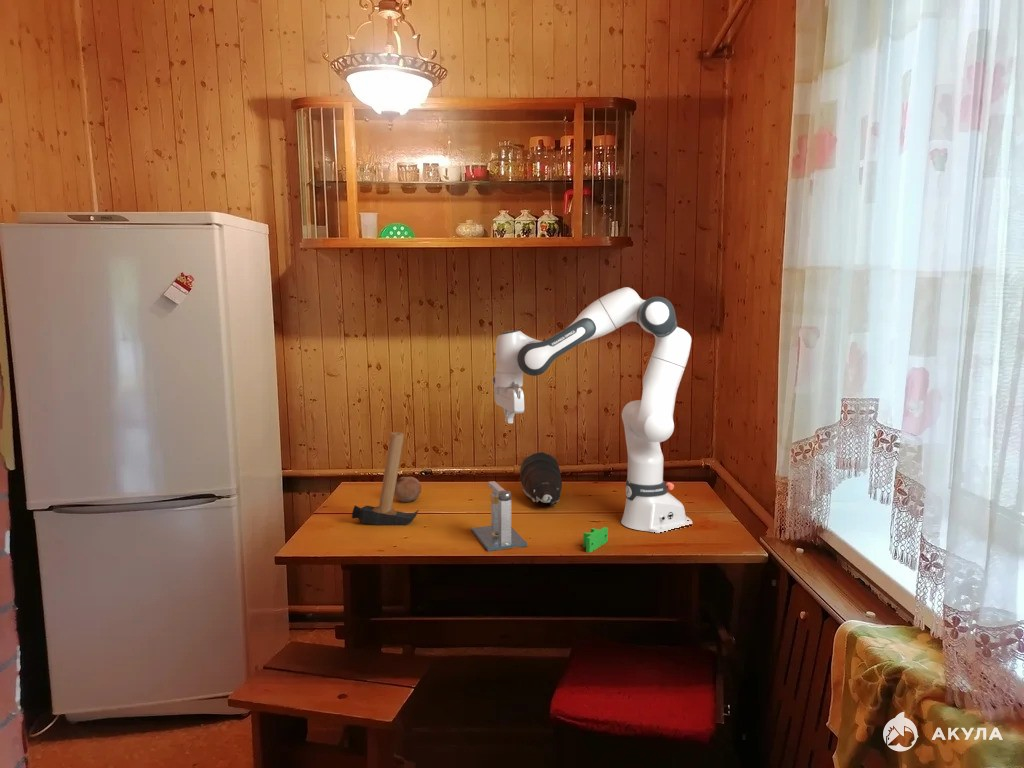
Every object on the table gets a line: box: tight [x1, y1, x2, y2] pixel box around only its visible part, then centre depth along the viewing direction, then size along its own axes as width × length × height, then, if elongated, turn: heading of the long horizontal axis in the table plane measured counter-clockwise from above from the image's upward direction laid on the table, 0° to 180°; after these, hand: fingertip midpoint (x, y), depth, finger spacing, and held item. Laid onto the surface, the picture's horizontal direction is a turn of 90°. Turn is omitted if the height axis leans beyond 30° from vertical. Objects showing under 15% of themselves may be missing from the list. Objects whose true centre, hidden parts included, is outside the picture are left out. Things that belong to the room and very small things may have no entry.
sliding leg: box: [490, 491, 499, 534], centre depth 211 cm, size 3×3×13 cm
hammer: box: [351, 431, 419, 527], centre depth 223 cm, size 20×5×30 cm, turn 89°
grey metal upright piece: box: [487, 481, 512, 544], centre depth 210 cm, size 4×15×15 cm, turn 19°
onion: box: [394, 476, 422, 503], centre depth 248 cm, size 10×9×10 cm
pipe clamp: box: [582, 526, 609, 554], centre depth 205 cm, size 11×4×5 cm, turn 145°
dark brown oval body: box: [519, 451, 563, 507], centre depth 247 cm, size 15×15×25 cm
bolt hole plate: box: [470, 525, 529, 552], centre depth 211 cm, size 12×18×1 cm, turn 19°
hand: (509, 422), depth 229 cm, fingers closed
